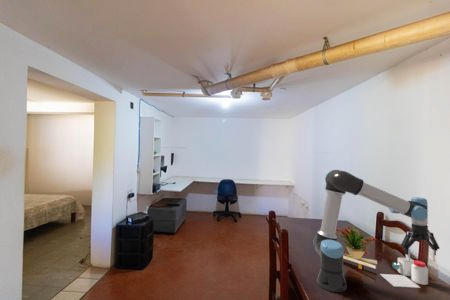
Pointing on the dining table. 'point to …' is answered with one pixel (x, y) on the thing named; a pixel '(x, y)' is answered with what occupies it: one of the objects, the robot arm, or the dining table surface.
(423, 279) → the pill bottle
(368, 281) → the dining table surface
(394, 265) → the plunger
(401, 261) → the housing
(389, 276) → the mat
